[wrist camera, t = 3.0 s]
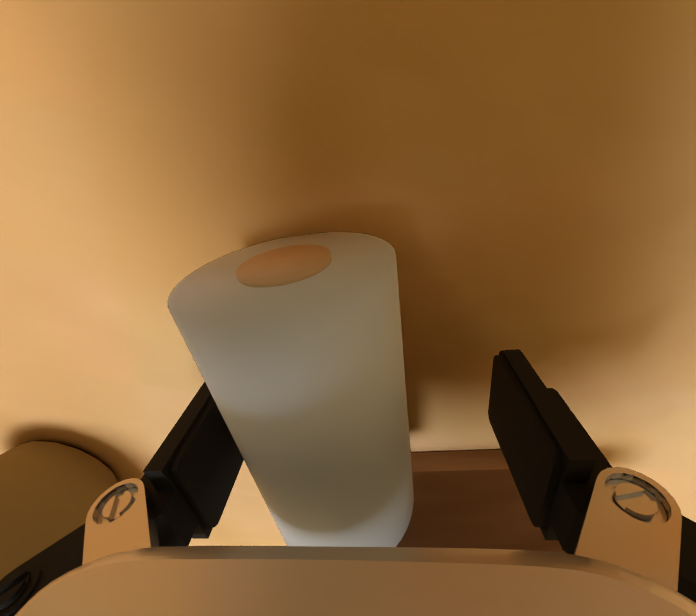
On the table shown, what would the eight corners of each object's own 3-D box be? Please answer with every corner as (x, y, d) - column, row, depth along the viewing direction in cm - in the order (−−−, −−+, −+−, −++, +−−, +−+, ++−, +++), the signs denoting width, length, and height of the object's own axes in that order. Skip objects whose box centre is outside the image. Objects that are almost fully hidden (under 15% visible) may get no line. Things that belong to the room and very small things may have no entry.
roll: (270, 227, 11) (112, 302, 7) (423, 226, 9) (317, 343, 4) (323, 421, 16) (249, 531, 12) (430, 457, 14) (382, 614, 9)
